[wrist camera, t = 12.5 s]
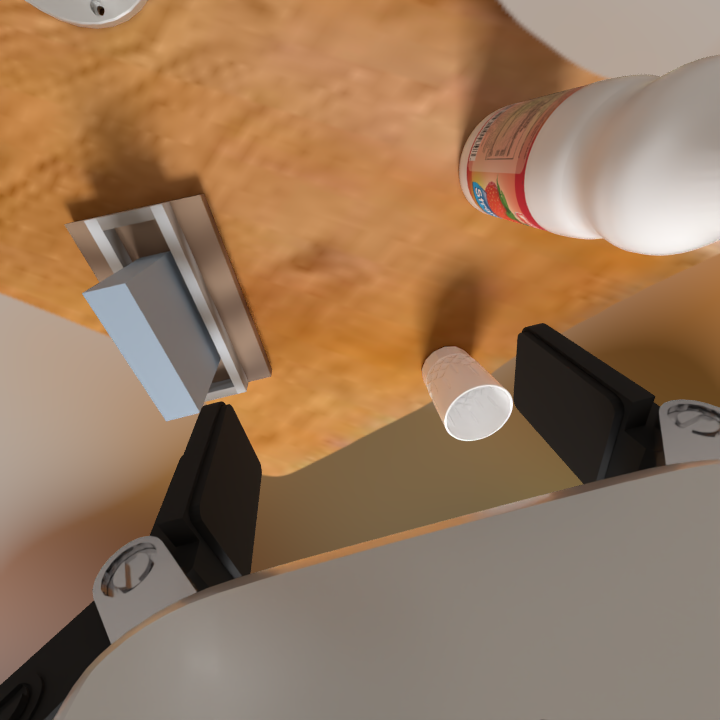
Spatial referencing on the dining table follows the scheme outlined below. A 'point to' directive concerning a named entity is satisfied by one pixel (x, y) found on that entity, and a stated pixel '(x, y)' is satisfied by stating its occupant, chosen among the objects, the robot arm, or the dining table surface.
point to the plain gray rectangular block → (158, 332)
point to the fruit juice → (607, 161)
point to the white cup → (465, 394)
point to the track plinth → (184, 276)
